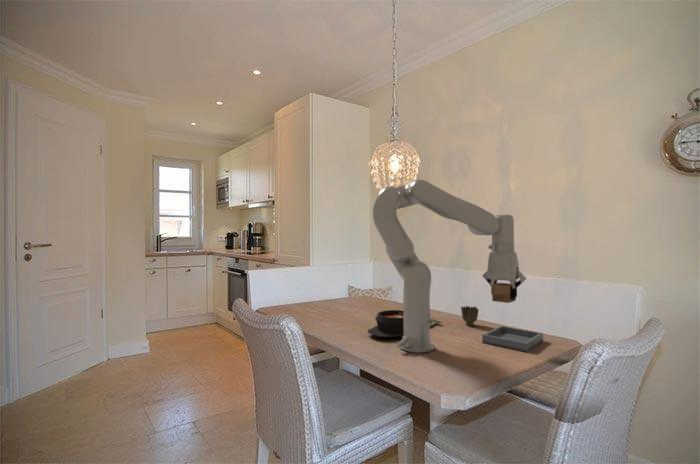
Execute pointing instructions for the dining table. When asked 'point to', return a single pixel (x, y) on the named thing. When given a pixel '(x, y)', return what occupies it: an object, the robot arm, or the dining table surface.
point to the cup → (469, 315)
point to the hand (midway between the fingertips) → (504, 297)
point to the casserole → (388, 324)
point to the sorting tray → (513, 338)
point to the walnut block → (502, 292)
